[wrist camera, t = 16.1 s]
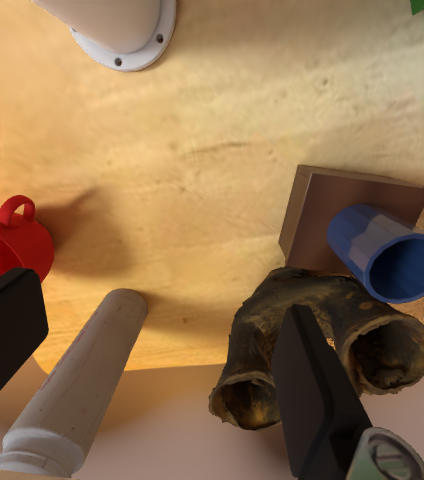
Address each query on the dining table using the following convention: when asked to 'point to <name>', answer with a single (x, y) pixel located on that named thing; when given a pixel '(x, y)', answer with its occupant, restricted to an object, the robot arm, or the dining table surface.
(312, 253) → the box lid
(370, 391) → the pottery vessel
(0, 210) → the ceramic cup
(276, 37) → the dining table surface
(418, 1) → the hardback book
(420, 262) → the cup
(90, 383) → the thermos bottle
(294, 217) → the box
